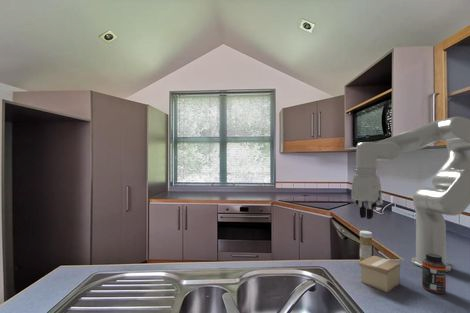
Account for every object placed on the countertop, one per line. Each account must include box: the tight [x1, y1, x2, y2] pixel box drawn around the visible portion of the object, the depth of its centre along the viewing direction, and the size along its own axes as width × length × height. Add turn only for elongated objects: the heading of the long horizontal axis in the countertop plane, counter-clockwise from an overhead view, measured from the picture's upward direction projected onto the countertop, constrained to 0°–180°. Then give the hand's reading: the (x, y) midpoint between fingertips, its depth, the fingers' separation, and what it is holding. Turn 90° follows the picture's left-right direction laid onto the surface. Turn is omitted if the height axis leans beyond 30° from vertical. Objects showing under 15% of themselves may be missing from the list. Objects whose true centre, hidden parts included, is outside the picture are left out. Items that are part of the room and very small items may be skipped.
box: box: [360, 266, 401, 293], centre depth 82 cm, size 10×8×6 cm
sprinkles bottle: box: [359, 230, 373, 261], centre depth 97 cm, size 5×5×14 cm
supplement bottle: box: [421, 253, 447, 295], centre depth 79 cm, size 6×6×11 cm
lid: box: [358, 255, 401, 275], centre depth 82 cm, size 12×8×1 cm
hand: (366, 217), depth 97 cm, fingers closed
